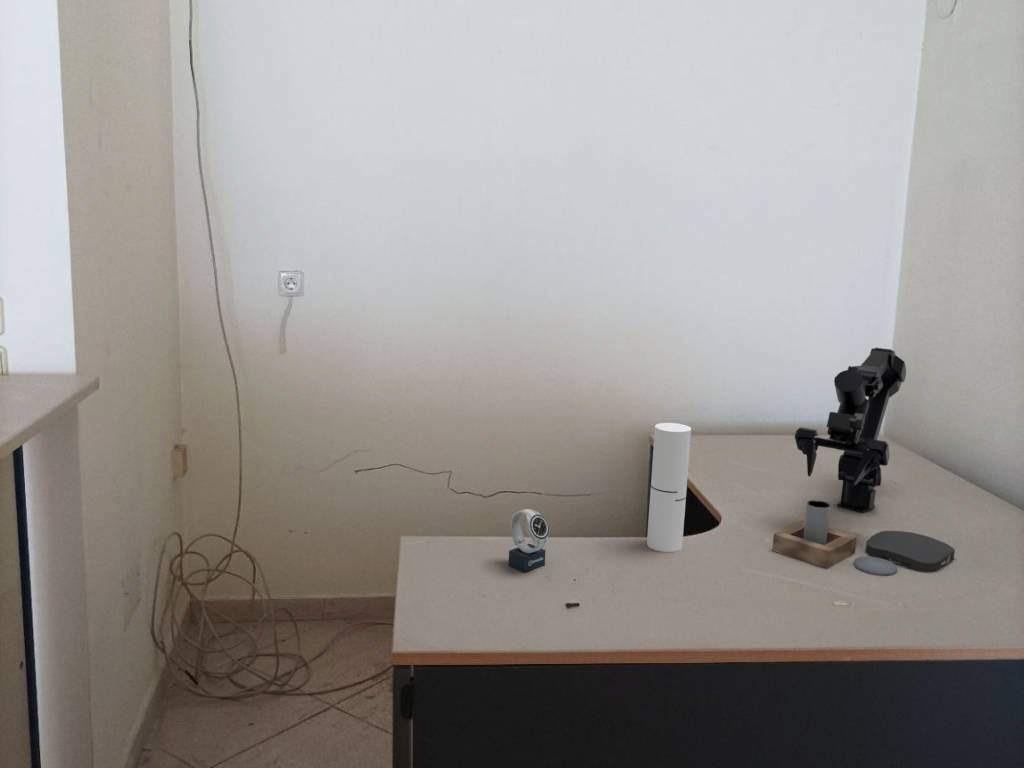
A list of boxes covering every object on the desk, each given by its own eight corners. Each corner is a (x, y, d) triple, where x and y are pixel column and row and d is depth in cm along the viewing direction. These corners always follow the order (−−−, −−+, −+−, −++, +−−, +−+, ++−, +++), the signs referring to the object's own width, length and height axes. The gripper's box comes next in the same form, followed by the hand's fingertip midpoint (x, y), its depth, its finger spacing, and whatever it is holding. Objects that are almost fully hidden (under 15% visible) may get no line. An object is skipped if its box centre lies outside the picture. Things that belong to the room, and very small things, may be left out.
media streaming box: (889, 537, 199) (891, 524, 198) (959, 558, 189) (961, 544, 188) (858, 554, 189) (860, 540, 188) (930, 577, 179) (932, 563, 178)
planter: (826, 557, 186) (832, 508, 184) (803, 554, 187) (808, 506, 185) (823, 548, 190) (829, 501, 188) (801, 546, 191) (806, 499, 189)
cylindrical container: (643, 538, 192) (651, 422, 187) (677, 538, 193) (685, 422, 188) (651, 552, 185) (659, 431, 180) (686, 552, 186) (695, 432, 181)
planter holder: (772, 550, 189) (773, 534, 188) (801, 536, 197) (802, 520, 196) (827, 568, 180) (829, 551, 180) (855, 553, 189) (857, 536, 188)
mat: (846, 566, 182) (846, 563, 182) (864, 556, 187) (864, 553, 187) (886, 579, 176) (886, 576, 176) (903, 568, 182) (904, 565, 182)
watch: (532, 576, 172) (534, 520, 170) (502, 563, 178) (504, 508, 175) (552, 568, 176) (555, 513, 174) (522, 555, 181) (524, 502, 179)
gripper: (801, 390, 198) (780, 451, 191) (893, 404, 188) (874, 468, 181) (808, 419, 206) (788, 478, 199) (896, 433, 196) (879, 496, 189)
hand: (831, 479), depth 192 cm, fingers open, 9 cm apart
